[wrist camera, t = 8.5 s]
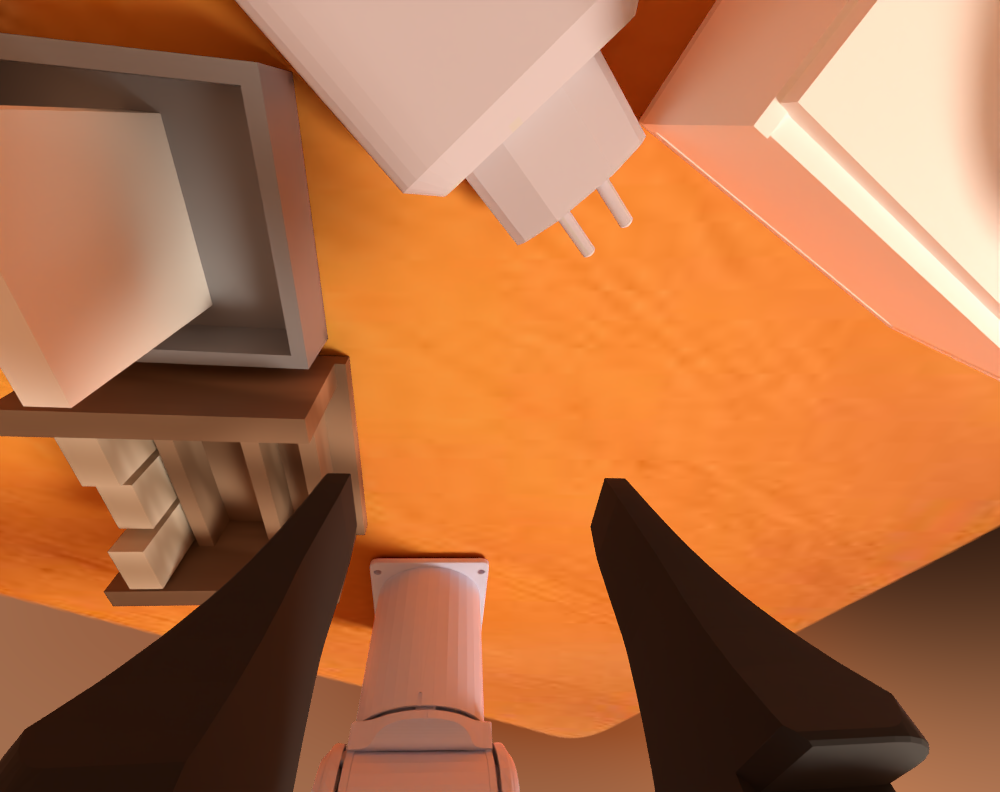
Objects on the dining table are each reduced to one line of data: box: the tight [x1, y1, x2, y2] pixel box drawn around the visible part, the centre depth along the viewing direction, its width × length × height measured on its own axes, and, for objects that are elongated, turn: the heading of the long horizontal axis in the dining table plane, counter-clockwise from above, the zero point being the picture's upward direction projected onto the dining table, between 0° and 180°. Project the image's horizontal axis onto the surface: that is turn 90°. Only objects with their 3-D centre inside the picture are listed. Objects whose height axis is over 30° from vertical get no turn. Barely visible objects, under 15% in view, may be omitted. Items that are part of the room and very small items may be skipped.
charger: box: [235, 0, 646, 257], centre depth 13 cm, size 5×9×15 cm
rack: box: [0, 355, 367, 606], centre depth 21 cm, size 12×12×5 cm
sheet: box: [0, 105, 212, 408], centre depth 13 cm, size 7×1×8 cm, turn 175°
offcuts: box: [54, 437, 195, 589], centre depth 21 cm, size 9×2×4 cm, turn 175°
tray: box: [0, 33, 328, 369], centre depth 16 cm, size 10×10×3 cm
